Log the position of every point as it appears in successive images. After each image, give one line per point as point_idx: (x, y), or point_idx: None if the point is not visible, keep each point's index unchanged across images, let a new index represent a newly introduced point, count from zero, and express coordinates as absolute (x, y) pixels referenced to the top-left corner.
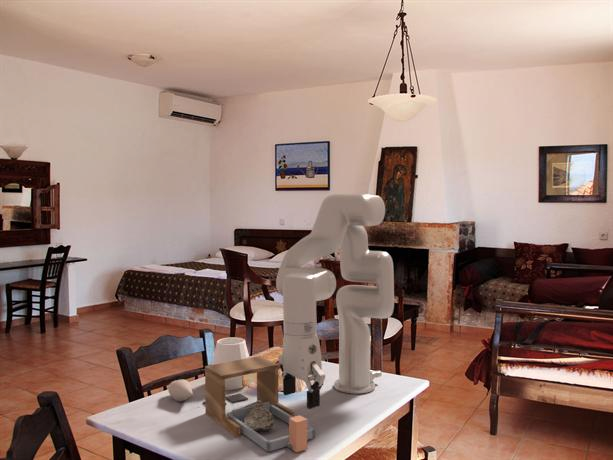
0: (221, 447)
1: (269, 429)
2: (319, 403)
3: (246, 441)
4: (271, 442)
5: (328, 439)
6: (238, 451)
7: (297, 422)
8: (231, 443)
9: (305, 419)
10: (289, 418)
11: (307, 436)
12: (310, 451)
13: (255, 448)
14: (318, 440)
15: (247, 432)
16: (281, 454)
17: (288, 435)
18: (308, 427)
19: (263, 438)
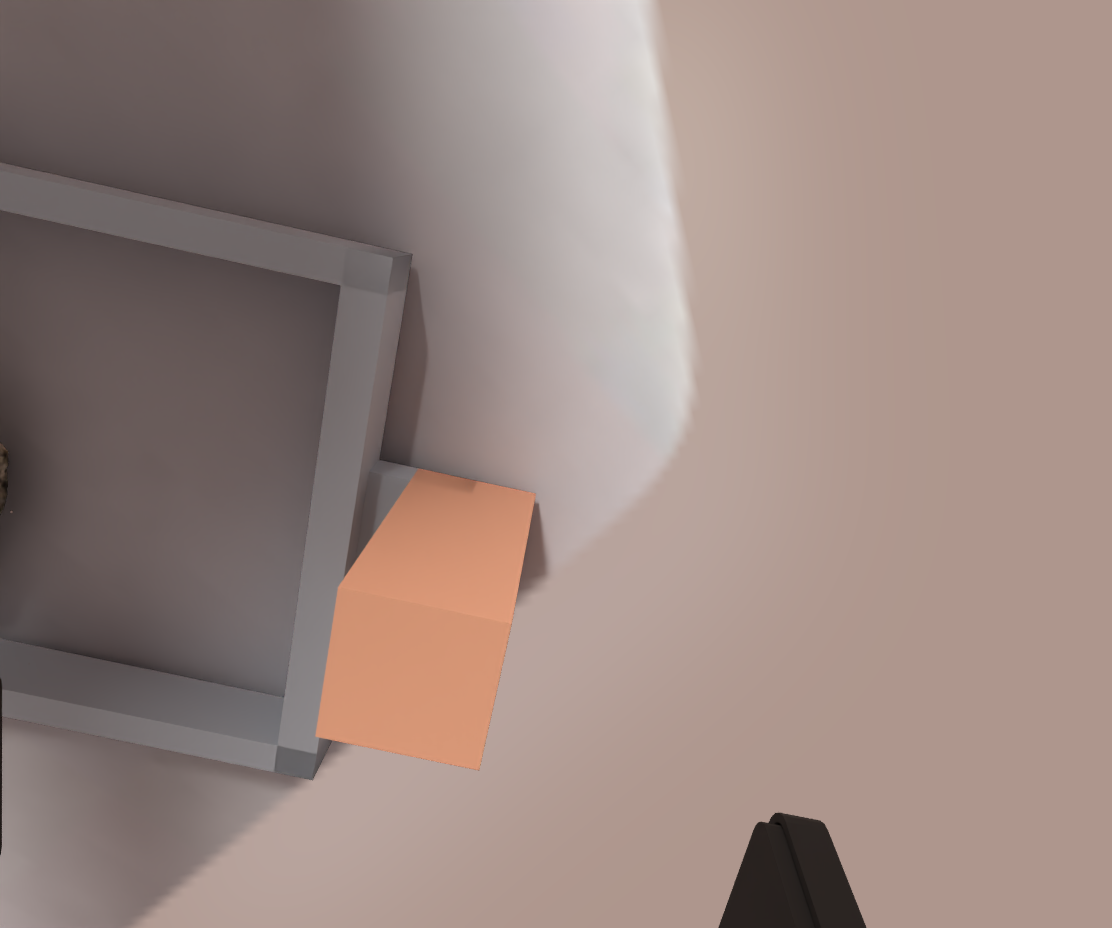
0: (21, 874)
1: (7, 486)
2: (830, 851)
3: None
4: (316, 747)
5: (524, 164)
6: (160, 840)
7: (482, 751)
8: (5, 792)
9: (495, 637)
10: (324, 738)
11: (388, 351)
12: (570, 482)
13: None
14: (465, 256)
15: None
16: None
17: (310, 556)
18: (303, 269)
19: (207, 745)
